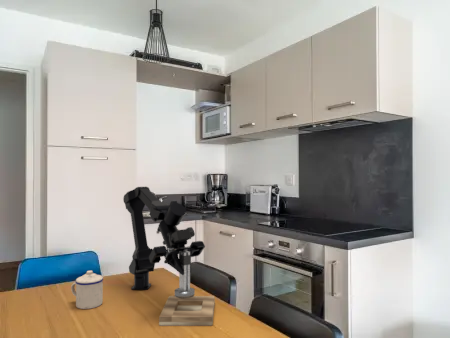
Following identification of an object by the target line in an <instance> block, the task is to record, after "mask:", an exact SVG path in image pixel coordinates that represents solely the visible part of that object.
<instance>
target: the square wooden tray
mask: <svg viewBox="0 0 450 338" xmlns="http://www.w3.org/2000/svg"><path fill="white" fill-rule="evenodd" d="M215 297H216V296H215V295H194V296H193V297H191V298H177V297H175V295H169V296H168V298H167V300H166V302H165V303H164V306H163V308H162V310H161V312H160V315H159V316H158V317H159V318H158V326H189V327H190V326H194V327H195V326H210V327H211V326H213V323H214V311H215V302H216V301H215Z"/></svg>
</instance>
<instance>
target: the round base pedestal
mask: <svg viewBox="0 0 450 338" xmlns="http://www.w3.org/2000/svg"><path fill="white" fill-rule="evenodd" d="M190 257H191V255H190V252H189V251H186V250H184V251H179V254H178V258H179V260H180V263H181V265H182V267H183V270H184V275H181V274H180V273H179V272H178V274H179V275H178V276H179V278H178V279H179V280H178V281H179V282H178V283H179V287H177V288H175V289H174V296H175V297H177V298H191V297H193V296H196V294H195V291H196V290H195V288H193V287H191V273H190ZM191 258H192V257H191Z"/></svg>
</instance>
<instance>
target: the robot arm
mask: <svg viewBox="0 0 450 338" xmlns="http://www.w3.org/2000/svg"><path fill="white" fill-rule="evenodd" d="M122 199H123V203H124V205H125V210H127V211H128V212H129V214H130V217H131V218H130V219H131V224H132V225H131V226H132V231H133V239H134V246H135V247H134V248H135V249H134V251H133V253H132V260H131V262H130V264H129V266H128V270H129V271H128V272H129V273H130V274H132V275H133V277H134V279H133V286H132V287H131V290H133V291H134V290H146V291H147V290H149V289H150V287H151V286H152V283H150V272H154V270H155V265H156V264H157V263H160V261H161V258H162V257H164V261H163V262H164V264H167V265H169V266H170V267H171V268H173V269H174V270H175V271H177V272H178V274H179V273H180V274H181V275H184V270H183V267H182V265H181V263H180V260H179V251H184V250H186V251H189V252H190V255H191V257H190V274H191V273H192V258H194V257H198V256H200V255H201V253H202V252H203V250H204V249H205V247H206V245H205V243H204V242H203V241H202V240H197V241H192V242H191V243H190V245H189V246H186V245H188V241H189V240H191V239H192V238H193V237H195V236H196V235H195V234H196V233H195V230H194V228H193V227H192V226H191V227H187V228H185V229H178V227H177V226H179V225H180V224H181V223H182V220H183V219H184V217H185V215H186V213H187V208H186V207H185V206H184V205H182V204H181V203H179V202H178V201H177V200H171V201H170V203H167V202H164V201H161V200H160V199H158V197H157V196H156V195H155V194H154V193H153V192H152V191H151V190H150V188H149V187H148V186H137V187H135V188H134V189H132V190H129V191H127V192H126V193H125V194H124V195H123V198H122ZM145 206H146V207H147V208H148V211H149V214H148V215H149V217H150V218H151V220H152V221H153V222H159V224H158V226H157V233H160V234H161V236H162V240H163V241H162V244H163V245H160V246H153V248H151V247H149V245H148V241H147V233H146V227H145V225H146V224H145V219H144V213H143V211H144V208H145Z"/></svg>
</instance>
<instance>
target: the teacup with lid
mask: <svg viewBox="0 0 450 338" xmlns="http://www.w3.org/2000/svg"><path fill="white" fill-rule="evenodd" d="M103 281H104V277H103V275H101V274H97V273H94V272H93V270H87V271H86V273H85V274H83V275H82V276H78V277H77V278H76V279H75V282H73V283H72V284H71V286H70V289H71V294H72V295H73V296H74V297H75V306H76V308H77V309H81V310H90V309H94V308H98V307H100V306H101V305H102V304H103V298H104V297H103V295H104V294H103V293H104V292H103V287H104V285H103Z"/></svg>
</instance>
